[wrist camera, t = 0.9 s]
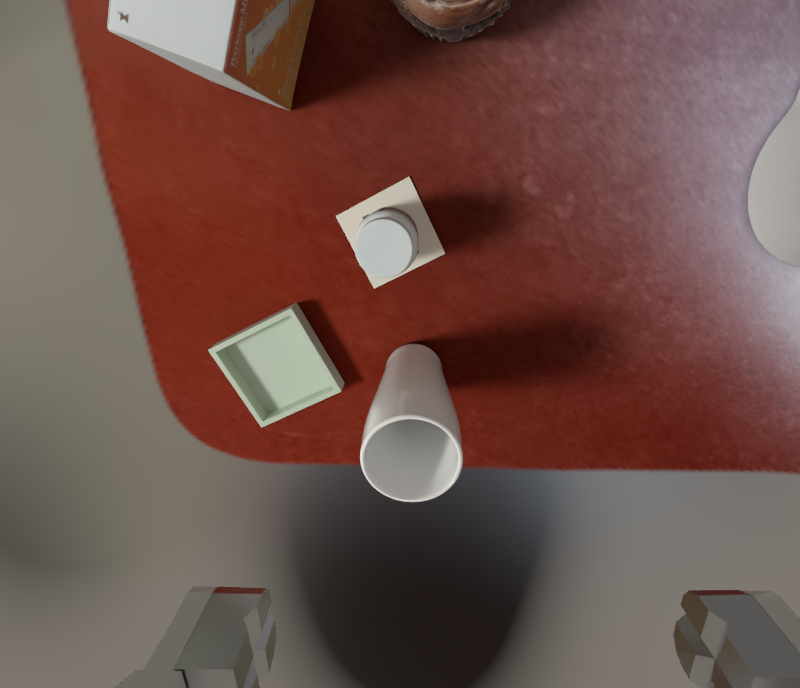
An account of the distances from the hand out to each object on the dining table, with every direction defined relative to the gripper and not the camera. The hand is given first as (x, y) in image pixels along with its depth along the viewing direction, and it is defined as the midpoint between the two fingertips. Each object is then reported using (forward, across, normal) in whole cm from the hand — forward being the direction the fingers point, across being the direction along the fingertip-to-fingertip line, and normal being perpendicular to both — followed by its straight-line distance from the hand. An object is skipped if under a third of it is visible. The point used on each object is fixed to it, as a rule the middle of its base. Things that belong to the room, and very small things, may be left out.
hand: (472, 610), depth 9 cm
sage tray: (+32, +14, +8) cm, 36 cm away
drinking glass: (+33, +1, +9) cm, 34 cm away
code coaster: (+32, +3, -4) cm, 33 cm away
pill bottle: (+32, +3, -4) cm, 33 cm away
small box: (+33, +12, -18) cm, 39 cm away
